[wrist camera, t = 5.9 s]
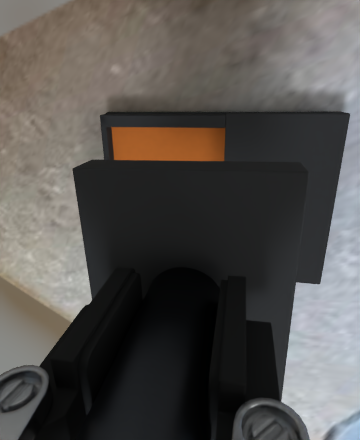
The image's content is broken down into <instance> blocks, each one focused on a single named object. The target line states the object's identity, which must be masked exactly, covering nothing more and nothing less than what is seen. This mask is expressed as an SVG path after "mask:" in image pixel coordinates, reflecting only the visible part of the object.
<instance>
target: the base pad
mask: <svg viewBox="0 0 360 440" xmlns="http://www.w3.org/2000/svg"><path fill="white" fill-rule="evenodd" d="M349 117H350V114H349V113H344V112H108V113H106V114H104V115H100V120H101V130H102V141H103V151H104V160H159V161H255V162H301V163H302V164H303V165H304V167H305V168H306V169H307V170H308V172H309V180H308V188H307V196H306V204H305V213H304V221H303V229H302V237H301V245H300V253H299V261H298V269H297V277H296V282H300V283H311V284H320V282H321V276H322V270H323V265H324V259H325V253H326V248H327V242H328V236H329V231H330V225H331V219H332V214H333V208H334V202H335V197H336V191H337V185H338V180H339V174H340V168H341V163H342V157H343V151H344V146H345V140H346V134H347V129H348V123H349Z"/></svg>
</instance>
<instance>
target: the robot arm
mask: <svg viewBox="0 0 360 440" xmlns="http://www.w3.org/2000/svg"><path fill="white" fill-rule="evenodd" d="M142 302H143V298H142V286H141V276H140V274H139V273H136V272H135V269H134V268H122V267H117V268H116V269H115V270H114V271H113V273H112V274H111V275H110V277H109V278H108V279H107V281H106V282H105V283H104V285H103V286H102V288H101V289H100V290H99V292H98V293H97V294H96V296H95V297H94V298H93V300H92V301H91V303H90V304H89V305H86V306H84V307H83V309H82V310H81V311H80V312H79V314H78V315H77V316H76V318H75V319H74V320H73V322H72V323H71V325H70V326H69V327H68V329H67V330H66V331H65V333H64V334H63V335H62V337H61V338H60V339H59V341H58V342H57V343H56V345H55V346H54V347H53V349H52V350H51V351H50V353H49V354H48V355H47V357H46V358H45V359H44V361H43V362H42V363H41V365H40V366H39V367H38V366H34V365H25V366H20V367H16V368H13V369H11V370H9V371H7V372H5V373H3V374H1V375H0V440H76V438H77V436H78V434H79V432H80V430H81V428H82V426H83V424H84V421H85V419H86V417H87V415H88V413H89V411H90V409H91V407H92V405H93V403H94V401H95V399H96V397H97V395H98V393H99V391H100V389H101V386H102V384H103V382H104V380H105V378H106V376H107V374H108V372H109V370H110V368H111V366H112V364H113V362H114V360H115V358H116V356H117V353H118V351H119V349H120V347H121V345H122V343H123V341H124V339H125V337H126V335H127V333H128V331H129V329H130V327H131V325H132V323H133V321H134V318H135V316H136V314H137V312H138V310H139V308H140V306H141V304H142ZM208 420H209V423H210V426H211V440H310V439H309V435H308V432H307V428H306V426H305V424H304V423H303V421H302V419H301V418H300V416H299V415H298V414H297V413H296V412H295V411H294V410H293V409H292V408H290V407H289V406H287V405H285V404H284V403H282V402H280V394H279V385H278V376H277V368H276V359H275V350H274V341H273V333H272V325H271V322H261V321H251V320H246V277H244V276H230V275H228V280H222V279H221V284H220V292H219V300H218V308H217V316H216V324H215V331H214V339H213V347H212V355H211V363H210V372H209V386H208Z"/></svg>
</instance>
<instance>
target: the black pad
mask: <svg viewBox="0 0 360 440" xmlns="http://www.w3.org/2000/svg"><path fill="white" fill-rule="evenodd" d="M73 175H74V181H75V188H76V195H77V201H78V208H79V215H80V221H81V228H82V235H83V241H84V248H85V255H86V261H87V268H88V275H89V281H90V288H91V294H92V300H93V298H94V297H95V296H96V294H97V293H98V292H99V290H100V289H101V288H102V286H103V285H104V283H105V282H106V281H107V279H108V278H109V277H110V275H111V274H112V273H113V271H114V270H115V269H116V268H117V267H122V268H134V269H135V272H136V273H139V274H140V276H141V286H142V298H143V302H142V304H141V306H140V308H139V310H138V312H137V314H136V316H135V318H134V321H133V323H132V325H131V327H130V329H129V331H128V333H127V335H126V337H125V339H124V341H123V343H122V345H121V347H120V349H119V351H118V353H117V356H116V358H115V360H114V362H113V364H112V366H111V368H110V370H109V372H108V374H107V376H106V378H105V380H104V382H103V384H102V386H101V389H100V391H99V393H98V395H97V397H96V399H95V401H94V403H93V405H92V407H91V409H90V411H89V413H88V415H87V417H86V419H85V421H84V424H83V426H82V428H81V430H80V432H79V434H78V436H77V438H76V440H211V426H210V423H209V420H208V386H209V372H210V363H211V355H212V347H213V339H214V331H215V324H216V316H217V308H218V300H219V292H220V284H221V279H222V280H228V275H230V276H244V277H246V320H251V321H261V322H271V325H272V333H273V341H274V350H275V359H276V368H277V376H278V385H279V394H280V402H281V398H282V390H283V382H284V374H285V366H286V358H287V349H288V341H289V333H290V325H291V317H292V309H293V301H294V293H295V285H296V277H297V269H298V261H299V253H300V245H301V237H302V229H303V221H304V213H305V204H306V196H307V188H308V180H309V172H308V170H307V169H306V168H305V167H304V165H303V164H302V163H301V162H255V161H159V160H91V161H88V162H86V163H84V164H82V165H79V166H77V167H75V168H73Z"/></svg>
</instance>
